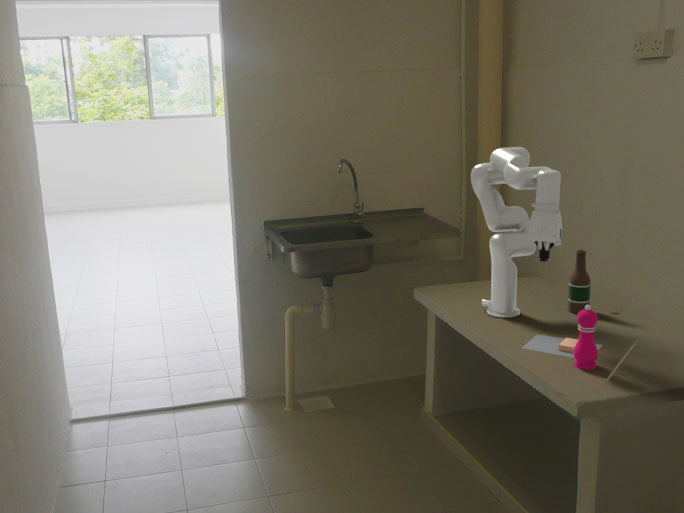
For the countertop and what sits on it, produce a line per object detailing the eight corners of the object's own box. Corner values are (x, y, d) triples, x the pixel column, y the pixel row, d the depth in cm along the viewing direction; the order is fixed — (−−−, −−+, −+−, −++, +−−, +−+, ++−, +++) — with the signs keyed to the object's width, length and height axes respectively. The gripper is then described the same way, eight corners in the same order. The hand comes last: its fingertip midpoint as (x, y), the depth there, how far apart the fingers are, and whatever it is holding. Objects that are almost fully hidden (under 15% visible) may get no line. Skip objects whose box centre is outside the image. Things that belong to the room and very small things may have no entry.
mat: (521, 349, 228) (521, 348, 227) (537, 335, 240) (537, 334, 240) (589, 362, 215) (589, 360, 215) (602, 346, 228) (602, 345, 228)
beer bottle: (589, 309, 269) (592, 248, 263) (589, 315, 261) (592, 253, 256) (568, 307, 271) (570, 248, 266) (567, 313, 264) (570, 252, 259)
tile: (558, 344, 224) (587, 349, 219) (566, 337, 230) (594, 342, 225) (558, 350, 224) (586, 355, 219) (566, 343, 231) (593, 347, 226)
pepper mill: (568, 363, 215) (571, 302, 210) (591, 362, 215) (594, 300, 211) (578, 372, 208) (581, 309, 203) (601, 371, 208) (605, 307, 204)
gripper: (521, 207, 231) (518, 260, 235) (565, 211, 222) (562, 266, 227) (529, 203, 237) (527, 255, 241) (573, 207, 228) (569, 261, 233)
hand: (544, 260), depth 234 cm, fingers closed
